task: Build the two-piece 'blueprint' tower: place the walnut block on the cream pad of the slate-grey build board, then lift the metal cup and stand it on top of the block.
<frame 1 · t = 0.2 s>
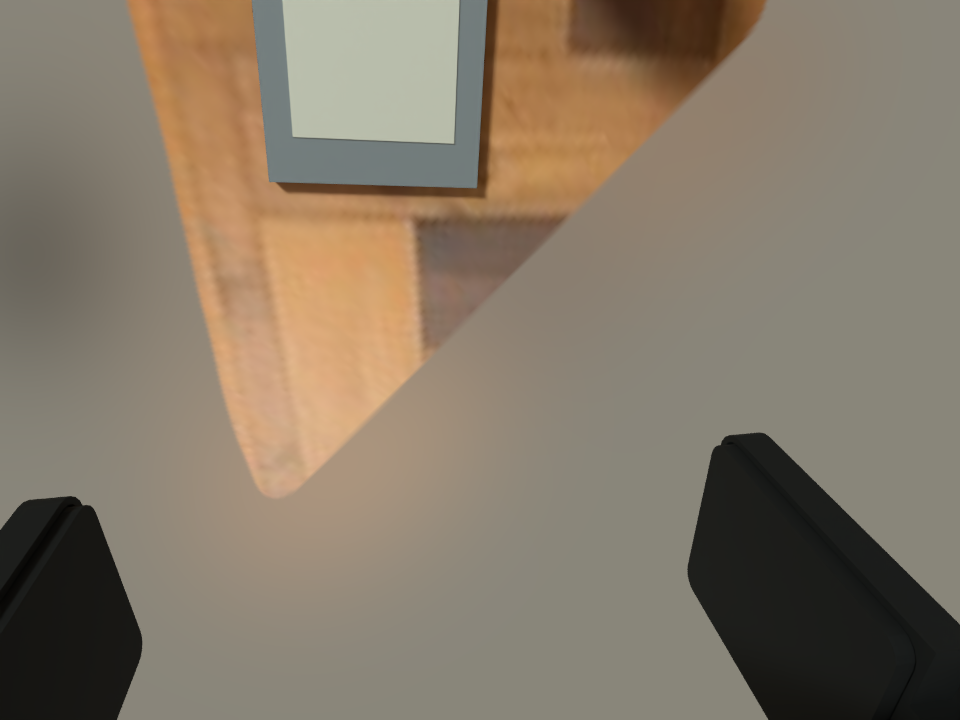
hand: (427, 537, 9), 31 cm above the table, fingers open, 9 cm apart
build board: (373, 51, 33), on the table
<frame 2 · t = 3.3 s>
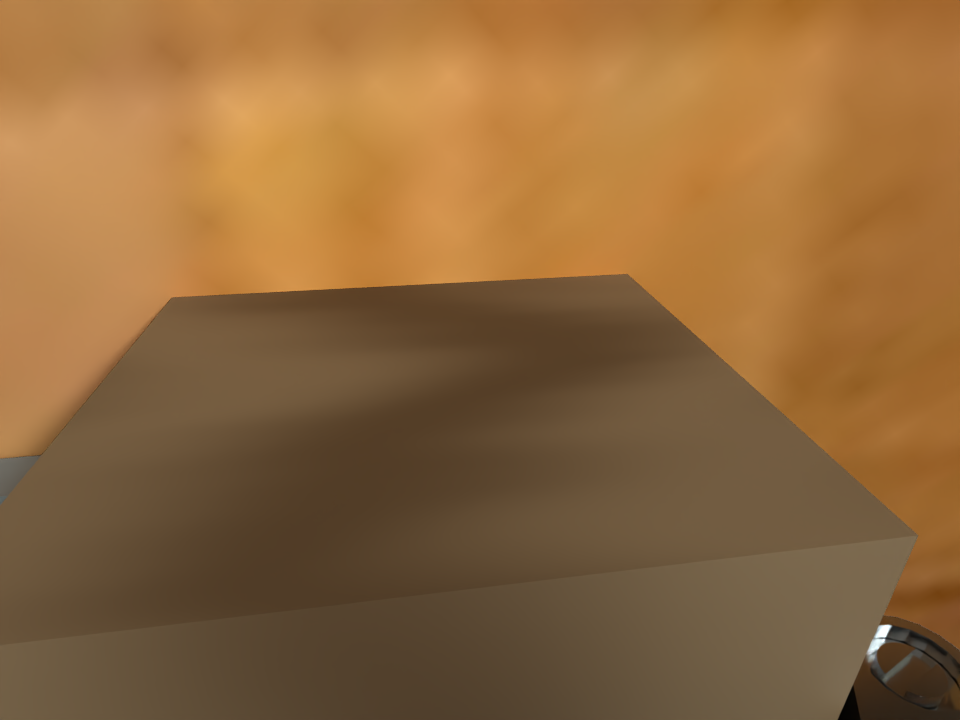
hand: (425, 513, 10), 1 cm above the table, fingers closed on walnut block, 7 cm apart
walnut block: (421, 468, 11), on the table, touching gripper
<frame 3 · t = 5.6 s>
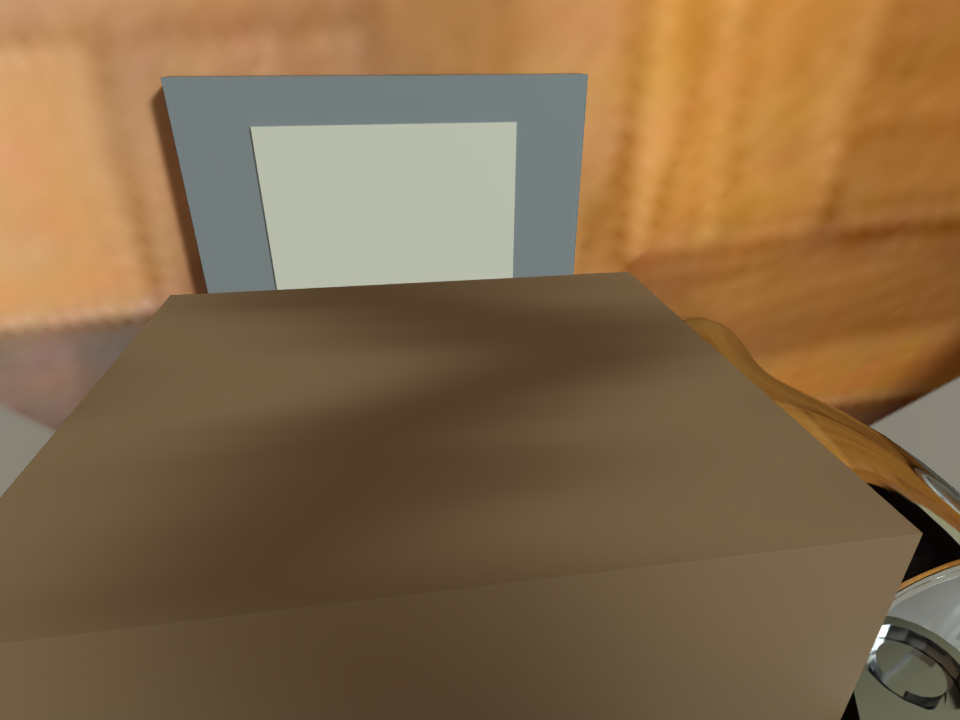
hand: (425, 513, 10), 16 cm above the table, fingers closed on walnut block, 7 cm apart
build board: (395, 244, 24), on the table
walnut block: (420, 466, 11), point 14 cm above the table, touching gripper
metal cup: (679, 374, 29), on the table
when the fingers open (4 cm above the table, at t = 8.3 s): walnut block drops 1 cm, resting on build board.
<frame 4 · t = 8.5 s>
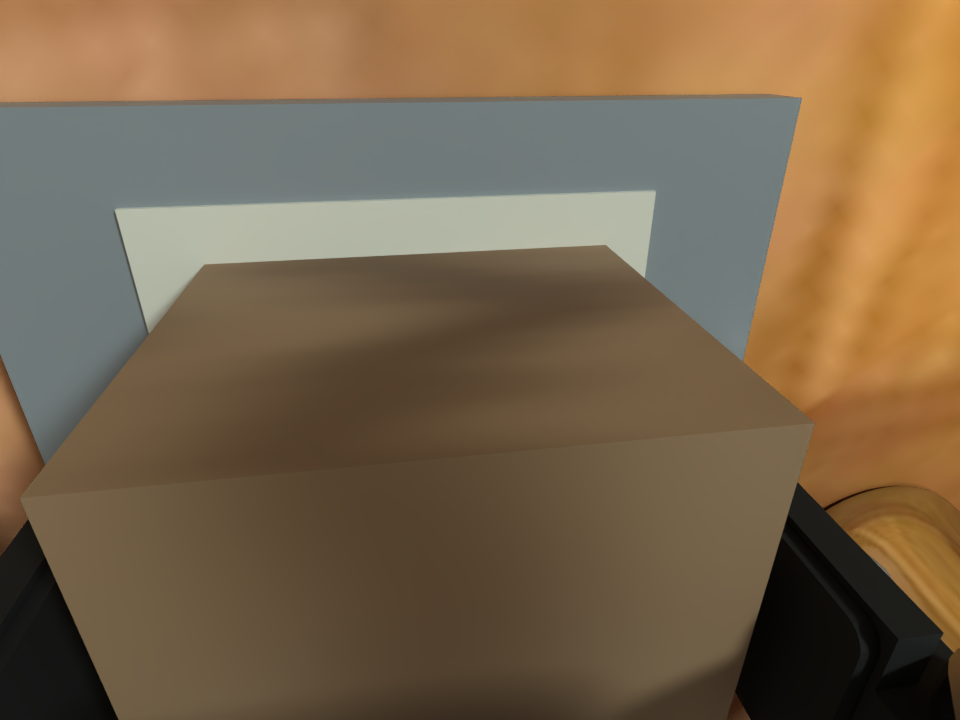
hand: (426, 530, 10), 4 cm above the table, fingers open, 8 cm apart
build board: (411, 397, 13), on the table
walnut block: (423, 422, 12), point 1 cm above the table, touching build board
metal cup: (853, 559, 18), on the table
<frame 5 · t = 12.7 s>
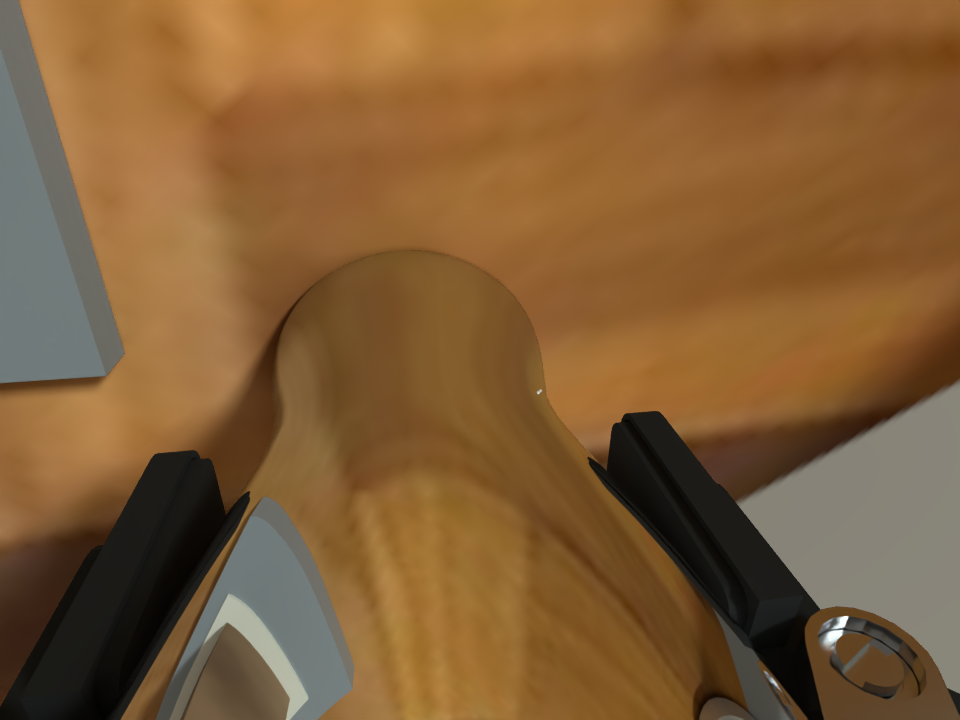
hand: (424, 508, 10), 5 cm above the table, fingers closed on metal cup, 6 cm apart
metal cup: (410, 370, 14), on the table, touching gripper
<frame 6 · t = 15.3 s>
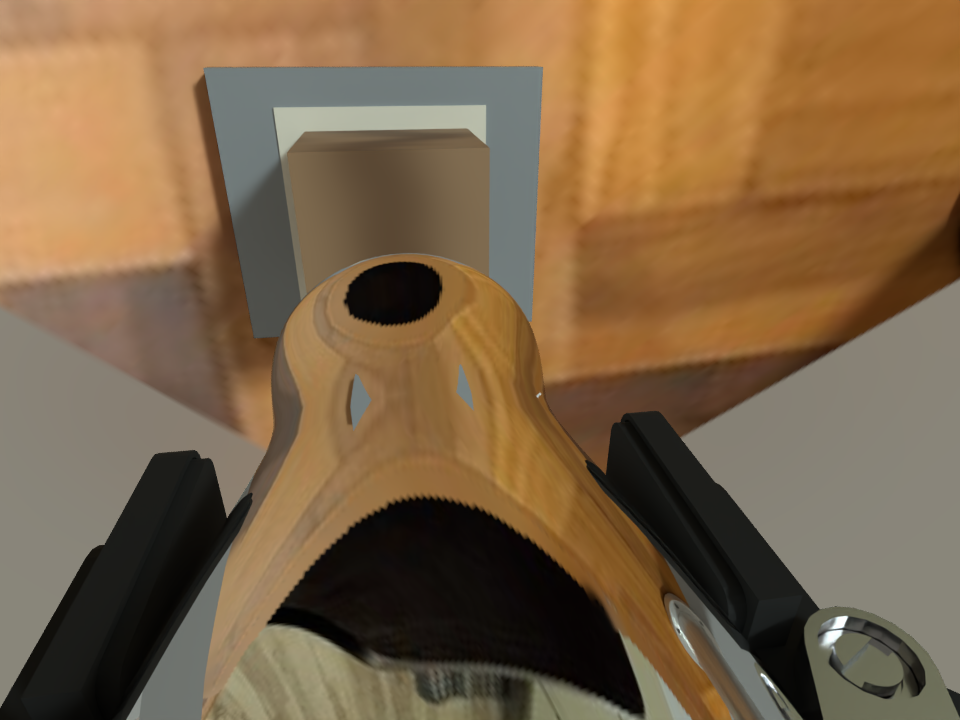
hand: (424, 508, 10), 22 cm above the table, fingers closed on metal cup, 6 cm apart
build board: (388, 206, 29), on the table
walnut block: (392, 210, 28), point 1 cm above the table, touching build board
metal cup: (409, 373, 14), point 17 cm above the table, touching gripper
when the fingers open (13 cm above the table, at t = 17.8 s): metal cup drops 1 cm, resting on walnut block.
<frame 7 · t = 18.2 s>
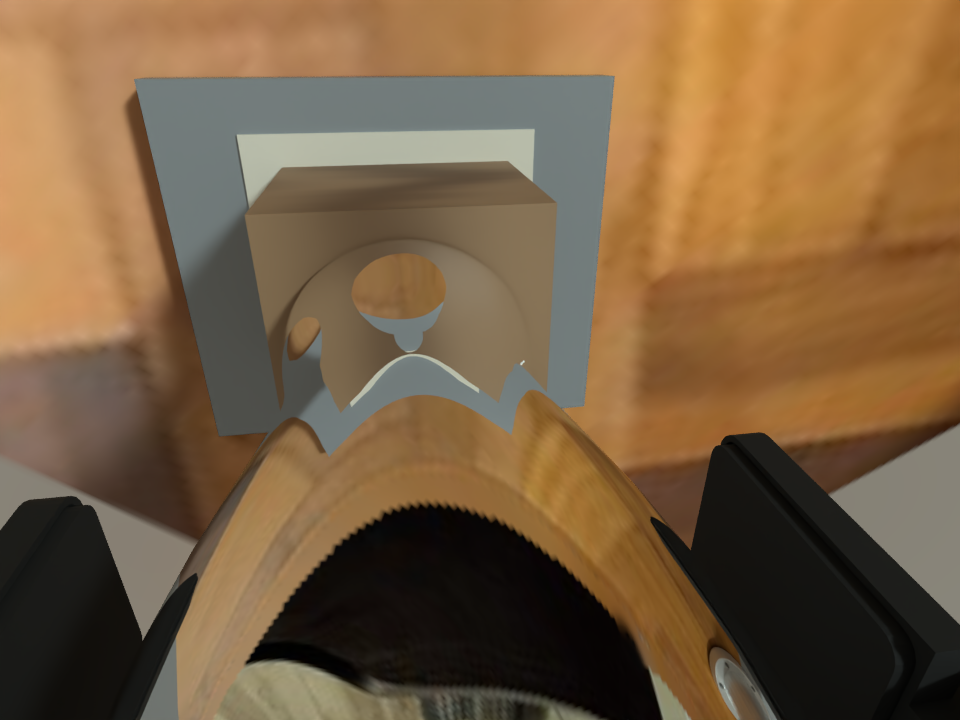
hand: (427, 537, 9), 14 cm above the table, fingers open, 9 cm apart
build board: (398, 262, 21), on the table
walnut block: (404, 271, 20), point 1 cm above the table, touching metal cup, build board
metal cup: (407, 351, 15), point 7 cm above the table, touching walnut block
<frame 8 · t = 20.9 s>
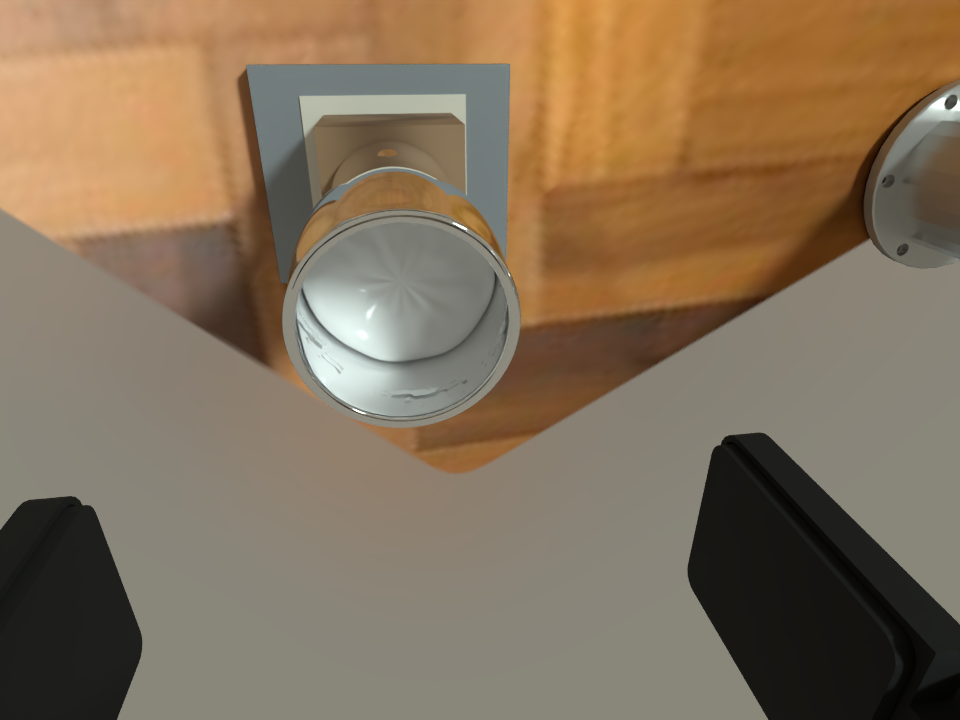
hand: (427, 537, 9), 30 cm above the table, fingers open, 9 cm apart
build board: (389, 176, 36), on the table
walnut block: (392, 178, 35), point 1 cm above the table, touching metal cup, build board
metal cup: (392, 204, 30), point 7 cm above the table, touching walnut block
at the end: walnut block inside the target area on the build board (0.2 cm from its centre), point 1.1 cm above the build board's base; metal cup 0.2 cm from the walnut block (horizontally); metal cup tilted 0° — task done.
